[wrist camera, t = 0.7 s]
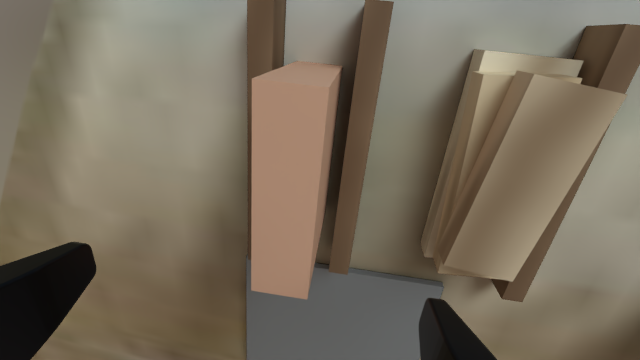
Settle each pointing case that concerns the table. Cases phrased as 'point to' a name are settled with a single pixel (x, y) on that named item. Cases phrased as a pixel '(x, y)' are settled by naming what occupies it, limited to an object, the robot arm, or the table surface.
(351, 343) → the charcoal mat
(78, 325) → the table surface
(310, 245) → the terracotta board
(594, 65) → the walnut rack
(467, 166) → the offcut stack
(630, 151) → the table surface
